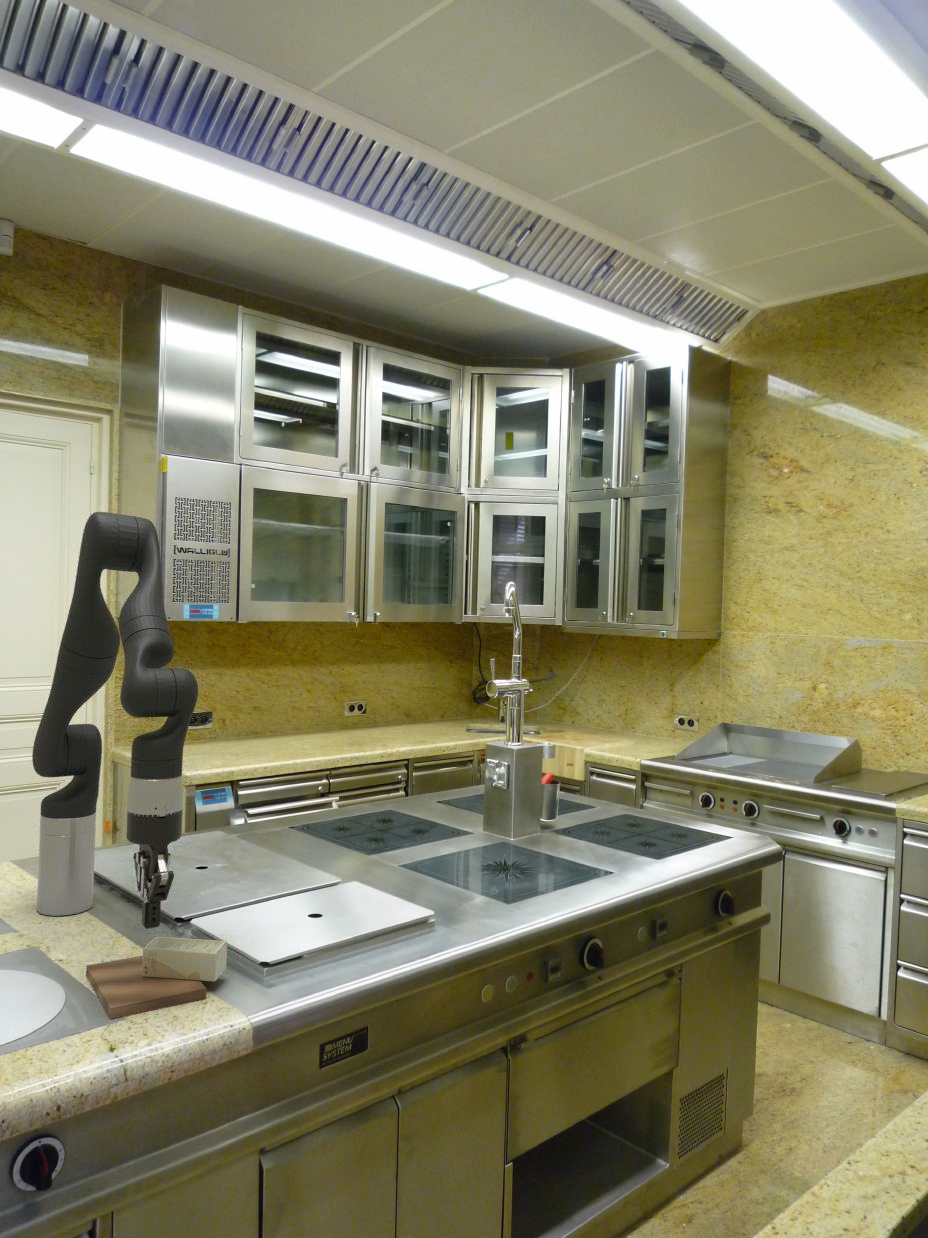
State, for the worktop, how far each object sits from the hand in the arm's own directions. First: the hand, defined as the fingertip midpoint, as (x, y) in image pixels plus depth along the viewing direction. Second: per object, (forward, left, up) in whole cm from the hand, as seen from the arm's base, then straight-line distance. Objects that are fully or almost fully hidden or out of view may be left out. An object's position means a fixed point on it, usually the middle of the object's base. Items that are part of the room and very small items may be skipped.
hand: (150, 926), depth 127 cm
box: (-4, +1, -6) cm, 7 cm away
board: (-2, 0, -10) cm, 10 cm away
